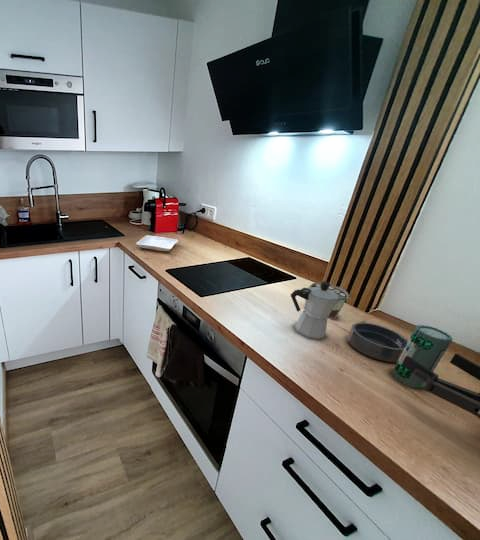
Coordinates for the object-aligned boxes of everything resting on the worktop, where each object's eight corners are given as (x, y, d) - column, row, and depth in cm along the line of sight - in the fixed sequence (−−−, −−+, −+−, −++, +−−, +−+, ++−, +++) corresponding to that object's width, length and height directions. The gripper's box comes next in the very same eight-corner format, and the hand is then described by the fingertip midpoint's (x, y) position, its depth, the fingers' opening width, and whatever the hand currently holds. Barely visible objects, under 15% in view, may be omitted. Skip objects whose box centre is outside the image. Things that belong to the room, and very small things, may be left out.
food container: (346, 316, 104) (356, 292, 100) (339, 321, 100) (349, 296, 96) (310, 302, 113) (318, 279, 109) (302, 306, 110) (310, 283, 106)
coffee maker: (325, 327, 97) (343, 279, 90) (336, 342, 89) (357, 292, 82) (277, 320, 100) (291, 273, 93) (284, 334, 92) (300, 285, 85)
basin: (393, 342, 90) (399, 329, 88) (411, 369, 79) (419, 355, 77) (342, 331, 95) (347, 318, 93) (353, 355, 84) (359, 341, 82)
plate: (146, 239, 184) (146, 234, 183) (178, 244, 177) (179, 239, 175) (134, 248, 166) (135, 243, 165) (170, 254, 159) (170, 249, 157)
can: (391, 367, 79) (415, 322, 73) (421, 378, 76) (449, 331, 70) (392, 380, 75) (418, 332, 69) (424, 392, 71) (454, 343, 65)
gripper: (486, 459, 51) (377, 373, 71) (601, 449, 54) (465, 368, 73) (510, 430, 48) (390, 348, 68) (631, 421, 51) (481, 345, 70)
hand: (429, 359), depth 70 cm, fingers open, 13 cm apart
